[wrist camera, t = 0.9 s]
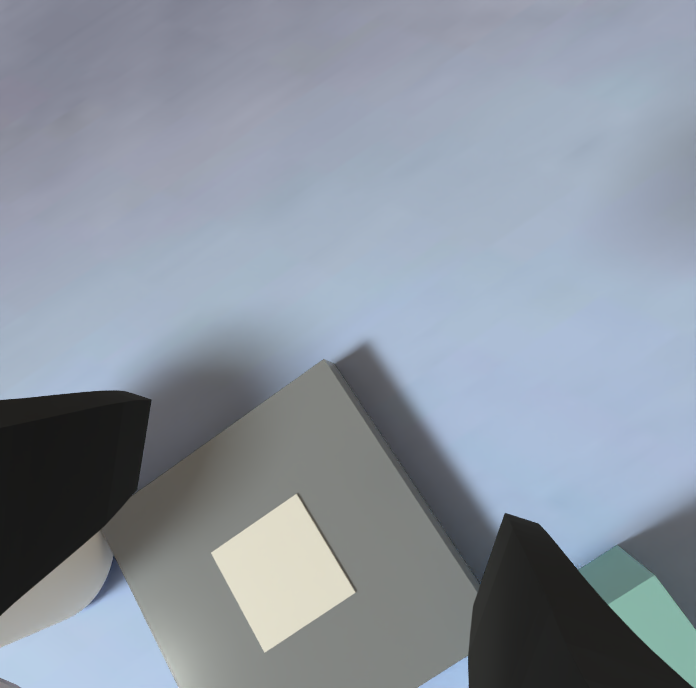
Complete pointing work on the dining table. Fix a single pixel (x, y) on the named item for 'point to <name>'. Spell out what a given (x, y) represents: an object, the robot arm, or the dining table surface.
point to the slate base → (295, 554)
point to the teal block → (645, 608)
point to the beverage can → (59, 592)
